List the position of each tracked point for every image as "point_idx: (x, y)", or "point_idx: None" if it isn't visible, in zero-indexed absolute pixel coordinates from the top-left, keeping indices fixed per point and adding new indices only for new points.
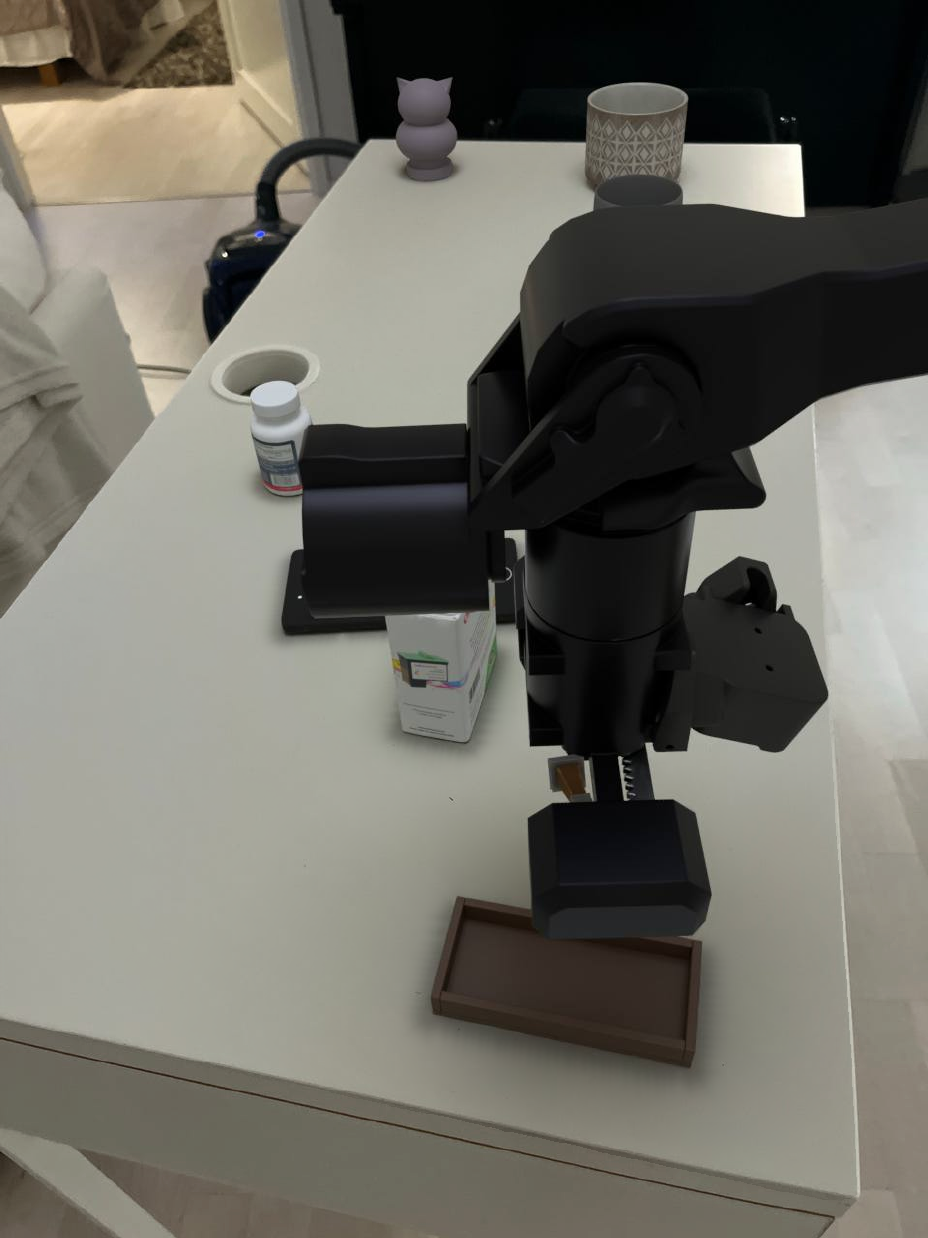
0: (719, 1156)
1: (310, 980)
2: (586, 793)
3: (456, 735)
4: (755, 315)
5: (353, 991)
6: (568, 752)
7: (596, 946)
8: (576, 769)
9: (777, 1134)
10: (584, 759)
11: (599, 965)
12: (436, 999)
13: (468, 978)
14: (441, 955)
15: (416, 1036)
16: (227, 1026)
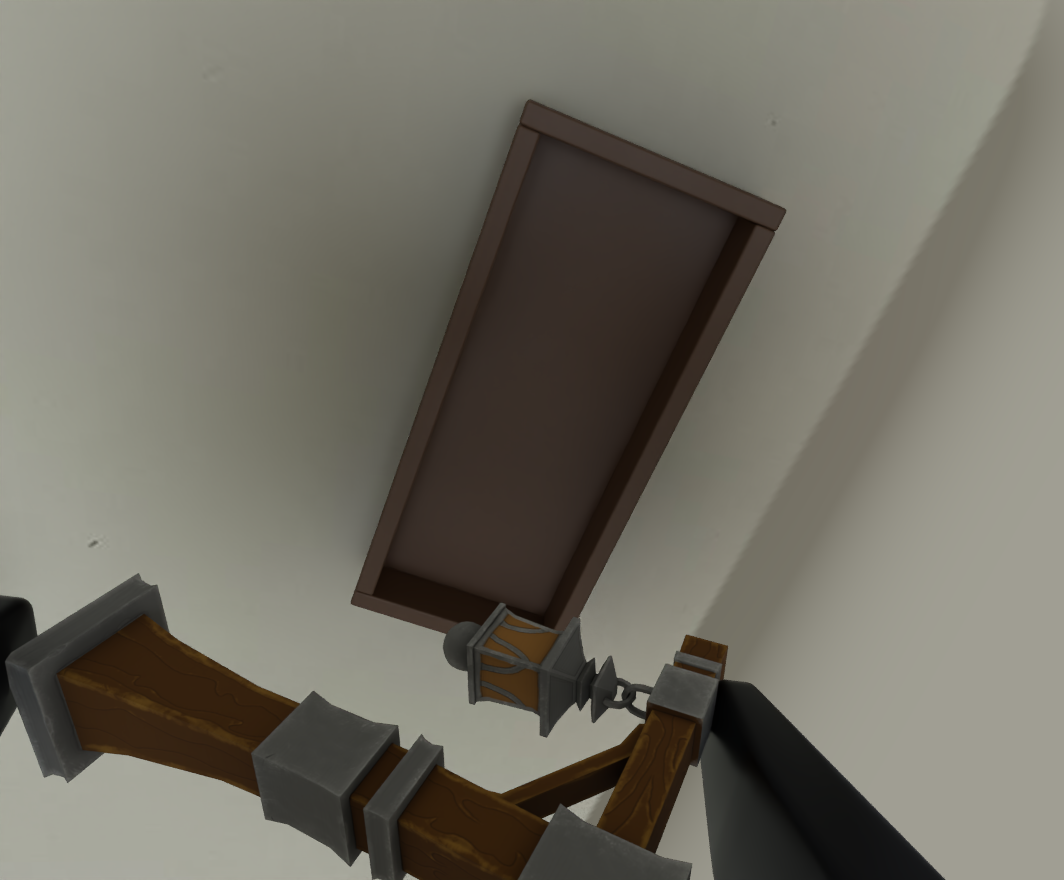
0: (936, 193)
1: (463, 772)
2: (255, 767)
3: None
4: None
5: (491, 722)
6: (5, 722)
7: (474, 334)
8: (95, 694)
9: (944, 49)
10: (29, 628)
11: (518, 338)
12: None
13: (504, 573)
14: None
15: (583, 647)
16: None
